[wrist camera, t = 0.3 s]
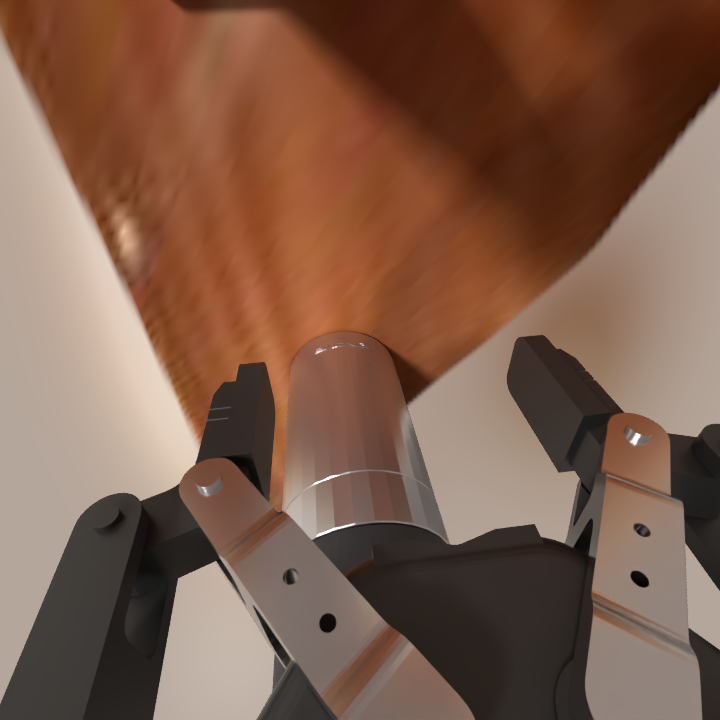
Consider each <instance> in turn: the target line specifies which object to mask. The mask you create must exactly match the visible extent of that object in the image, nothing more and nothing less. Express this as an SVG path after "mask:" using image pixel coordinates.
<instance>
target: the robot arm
mask: <svg viewBox="0 0 720 720" xmlns="http://www.w3.org/2000/svg"><path fill="white" fill-rule="evenodd" d="M507 384H508V389H509V391H510V393H511V395H512V397H513V398H514V400H515V402H516V403H517V405H518V406H519V408H520V410H521V411H522V413H523V415H524V416H525V418H526V419H527V421H528V423H529V424H530V426H531V428H532V429H533V431H534V433H535V434H536V436H537V437H538V439H539V441H540V442H541V444H542V446H543V447H544V449H545V451H546V452H547V454H548V455H549V457H550V459H551V461H552V462H553V464H554V465H555V467H556V469H557V470H558V472H567V471H575V472H576V473H577V475H578V476H579V478H580V480H579V482H578V485H577V490H576V495H575V500H574V505H573V510H572V515H571V521H570V525H569V530H568V535H567V538H566V541H565V544H564V543H561V542H559V541H556V540H552V539H548V538H543V537H541V536H540V534H539V532H538V530H537V528H536V526H535V524H532V525H524V526H517V527H508V528H502V529H495V530H492V531H490V532H488V533H485V534H483V535H481V536H478V537H476V538H474V539H472V540H469V541H467V542H465V543H463V544H459V545H450V543H449V540H448V537H447V534H446V530H445V527H444V524H443V521H442V517H441V514H440V511H439V508H438V505H437V502H436V499H435V496H434V492H433V489H432V486H431V483H430V479H429V476H428V473H427V470H426V466H425V463H424V460H423V457H422V453H421V450H420V447H419V444H418V440H417V437H416V434H415V431H414V428H413V424H412V421H411V418H410V414H409V411H408V408H407V405H406V401H405V398H404V395H403V391H402V388H401V385H400V381H399V378H398V375H397V372H396V368H395V365H394V362H393V359H392V357H391V355H390V353H389V351H388V350H387V349H386V348H385V347H384V346H383V345H382V344H381V343H380V342H378V341H377V340H375V339H374V338H372V337H369V336H367V335H364V334H361V333H356V332H335V333H329V334H326V335H323V336H321V337H318V338H316V339H314V340H313V341H311V342H309V343H308V344H306V345H305V346H304V347H303V348H302V349H301V350H300V351H299V352H298V354H297V355H296V357H295V358H294V360H293V363H292V365H291V368H290V380H289V397H288V411H287V430H286V449H285V468H284V486H283V505H282V511H281V512H280V513H279V512H277V511H276V510H275V509H274V508H273V507H272V506H271V505H270V504H269V493H270V480H271V466H272V453H273V440H274V427H275V404H274V398H273V393H272V389H271V385H270V380H269V376H268V371H267V367H266V364H265V362H260V363H249V364H240V365H239V369H238V374H237V379H236V381H234V382H224V383H223V384H222V385H221V386H220V388H219V389H218V390H217V391H216V393H215V394H214V396H213V399H212V403H211V407H210V411H209V415H208V422H206V426H205V430H204V434H203V438H202V442H201V446H200V449H199V453H198V457H197V461H196V464H195V465H194V466H193V467H192V468H190V469H189V470H188V471H187V472H186V474H185V475H184V476H183V478H182V480H181V482H180V484H178V485H177V486H176V487H174V488H172V489H170V490H168V491H166V492H163V493H161V494H158V495H155V496H153V497H150V498H147V499H145V500H142V501H139V499H138V498H137V497H136V496H134V495H132V494H128V493H117V494H113V495H110V496H107V497H105V498H102V499H100V500H99V501H97V502H96V503H94V504H93V505H92V506H90V507H89V508H88V509H87V510H86V511H85V512H84V513H83V514H82V515H81V516H80V518H79V519H78V521H77V522H76V524H75V526H74V529H73V531H72V534H71V536H70V538H69V541H68V543H67V546H66V548H65V550H64V553H63V555H62V558H61V560H60V562H59V565H58V567H57V570H56V572H55V574H54V577H53V579H52V581H51V584H50V586H49V589H48V591H47V594H46V596H45V598H44V601H43V603H42V605H41V608H40V610H39V613H38V615H37V618H36V620H35V622H34V625H33V627H32V630H31V632H30V634H29V637H28V639H27V641H26V644H25V646H24V649H23V651H22V653H21V656H20V658H19V661H18V663H17V665H16V668H15V670H14V673H13V675H12V677H11V680H10V682H9V685H8V687H7V689H6V692H5V694H4V697H3V699H2V701H1V704H0V720H153V716H154V710H155V704H156V699H157V693H158V687H159V682H160V676H161V671H162V665H163V659H164V654H165V647H166V643H167V637H168V631H169V626H170V620H171V614H172V608H173V603H174V597H175V592H176V586H177V581H178V578H179V577H182V576H184V575H186V574H188V573H190V572H193V571H195V570H197V569H199V568H201V567H204V566H206V565H208V564H210V563H212V562H216V564H217V565H218V567H219V568H220V570H221V571H222V573H223V574H224V576H225V577H226V579H227V580H228V582H229V583H230V585H231V586H232V588H233V589H234V590H235V592H236V594H237V595H238V597H239V598H240V599H241V601H242V603H243V604H244V606H245V607H246V609H247V610H248V612H249V613H250V615H251V617H252V618H253V620H254V622H255V623H256V625H257V626H258V628H259V630H260V632H261V633H262V635H263V636H264V638H265V639H266V641H267V643H268V644H269V645H270V647H271V649H272V650H273V651H274V653H275V658H274V676H273V691H272V694H271V695H270V697H269V699H268V701H267V702H266V704H265V706H264V708H263V709H262V711H261V713H260V715H259V716H258V718H257V720H720V650H719V649H718V648H716V647H715V646H713V645H712V644H711V643H709V642H708V641H706V640H705V639H704V638H702V637H701V636H699V635H698V634H697V633H695V632H694V631H692V630H691V629H690V628H688V608H687V581H686V557H685V556H686V555H685V543H686V544H687V546H688V547H689V548H690V550H691V551H692V553H693V554H694V555H695V557H696V558H697V560H698V561H699V562H700V564H701V565H702V567H703V568H704V570H705V571H706V572H707V574H708V575H709V577H710V578H711V579H712V581H713V582H714V583H715V585H716V586H717V588H718V589H719V590H720V424H711V425H708V426H706V427H705V428H704V429H703V430H702V432H701V433H700V434H699V436H698V437H690V436H683V435H676V434H669V433H666V432H665V430H664V429H663V428H662V427H661V426H660V425H658V424H657V423H655V422H654V421H652V420H650V419H648V418H646V417H644V416H641V415H637V414H632V413H624V412H623V411H622V410H621V408H620V407H619V406H618V405H617V404H616V403H615V402H614V401H613V399H612V398H611V397H610V396H609V395H608V394H607V393H606V392H605V391H604V389H603V388H602V387H601V386H600V385H599V384H598V383H597V382H596V381H594V380H593V377H592V376H591V375H590V374H589V373H588V372H587V371H585V368H584V367H583V366H582V365H581V364H580V363H579V361H578V360H577V359H576V358H575V357H573V356H571V355H570V354H568V353H566V352H565V351H563V350H561V349H556V348H555V347H554V346H553V345H552V344H551V343H550V341H549V340H548V339H547V338H546V337H545V336H543V335H539V336H527V337H519V338H518V339H517V340H516V342H515V345H514V349H513V353H512V357H511V361H510V365H509V370H508V373H507Z"/></svg>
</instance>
